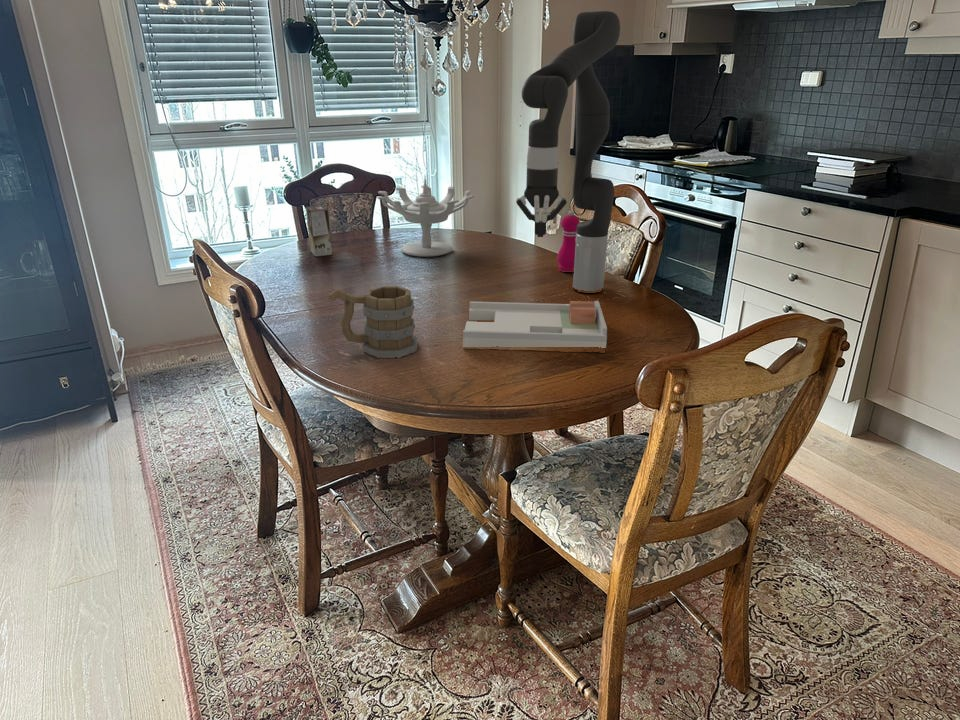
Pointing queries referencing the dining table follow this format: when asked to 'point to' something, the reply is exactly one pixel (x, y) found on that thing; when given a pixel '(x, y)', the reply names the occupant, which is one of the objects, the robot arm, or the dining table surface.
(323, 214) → the coffee box
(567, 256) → the pepper mill
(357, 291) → the dining table surface
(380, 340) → the tankard
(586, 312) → the block
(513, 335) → the box
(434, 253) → the candelabra
